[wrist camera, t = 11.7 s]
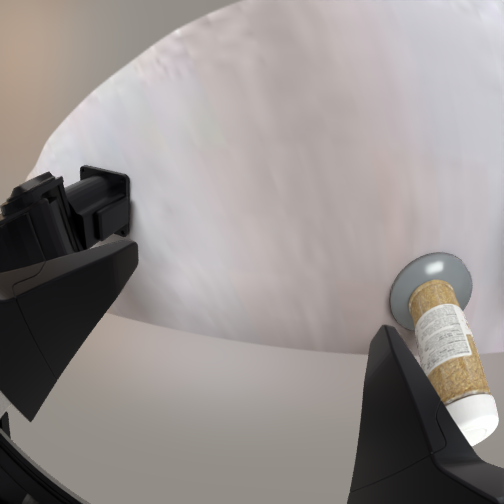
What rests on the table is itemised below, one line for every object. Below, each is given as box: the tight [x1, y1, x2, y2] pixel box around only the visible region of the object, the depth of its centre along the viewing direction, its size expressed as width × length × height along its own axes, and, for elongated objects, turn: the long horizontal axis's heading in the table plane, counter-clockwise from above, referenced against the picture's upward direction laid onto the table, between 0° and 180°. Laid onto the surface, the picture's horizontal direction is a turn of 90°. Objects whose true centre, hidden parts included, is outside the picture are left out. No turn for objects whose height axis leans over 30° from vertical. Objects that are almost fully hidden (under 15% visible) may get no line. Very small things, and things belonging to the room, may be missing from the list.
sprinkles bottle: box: [408, 280, 499, 446], centre depth 15 cm, size 5×5×13 cm
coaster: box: [390, 252, 472, 331], centre depth 21 cm, size 8×8×1 cm
